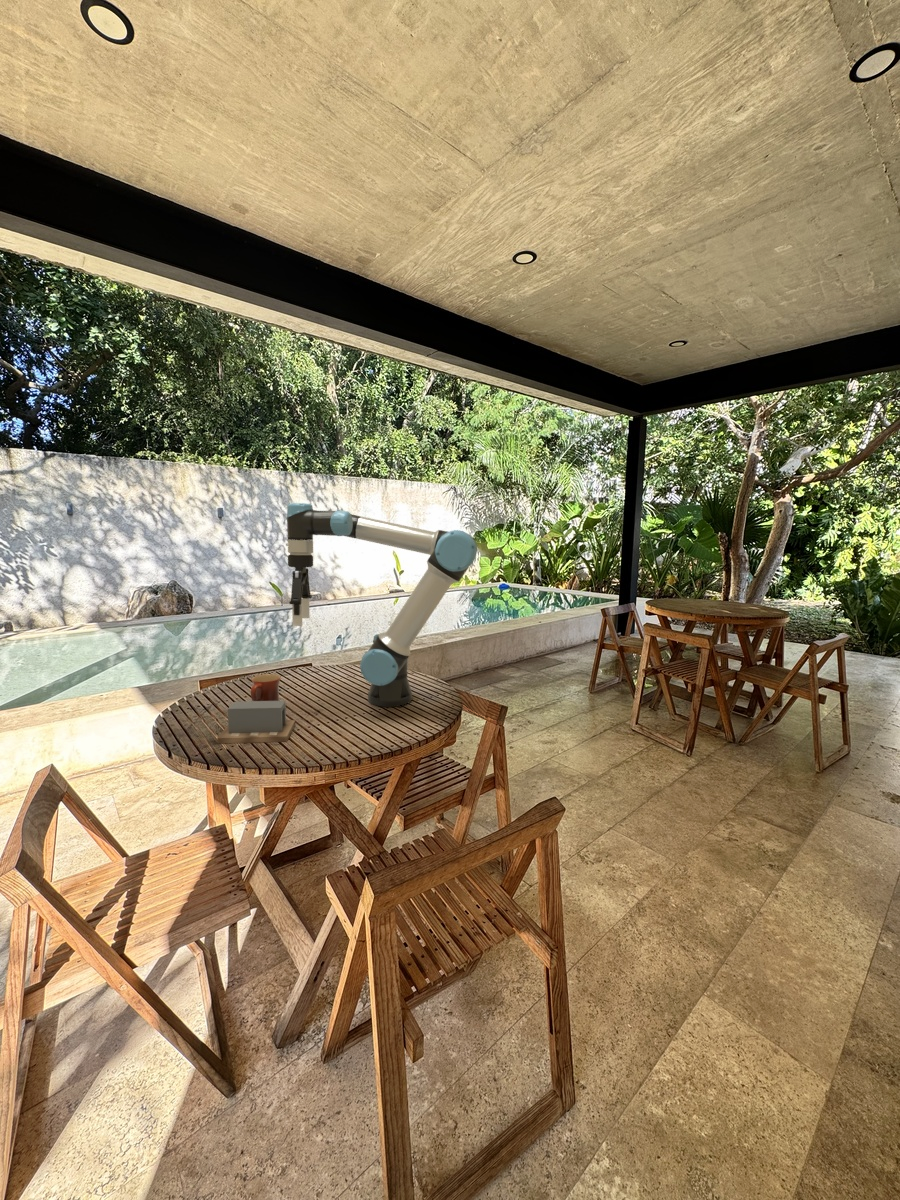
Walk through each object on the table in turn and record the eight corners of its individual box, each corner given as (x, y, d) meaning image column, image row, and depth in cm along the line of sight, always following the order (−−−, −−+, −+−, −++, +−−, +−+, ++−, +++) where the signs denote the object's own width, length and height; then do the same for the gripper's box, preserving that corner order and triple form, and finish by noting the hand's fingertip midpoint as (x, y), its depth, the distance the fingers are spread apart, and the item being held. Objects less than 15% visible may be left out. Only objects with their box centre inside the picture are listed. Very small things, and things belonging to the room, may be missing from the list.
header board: (295, 724, 145) (294, 707, 144) (286, 741, 133) (286, 722, 133) (231, 726, 143) (231, 708, 142) (217, 743, 131) (216, 723, 130)
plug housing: (286, 723, 142) (285, 700, 141) (281, 732, 136) (281, 707, 135) (235, 725, 140) (234, 701, 139) (228, 733, 134) (227, 708, 133)
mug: (262, 703, 163) (261, 673, 162) (286, 705, 161) (285, 675, 160) (240, 715, 151) (239, 683, 150) (265, 718, 150) (265, 685, 148)
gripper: (295, 552, 163) (296, 615, 166) (279, 555, 139) (280, 629, 141) (318, 552, 164) (319, 615, 167) (306, 555, 140) (307, 629, 142)
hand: (301, 621), depth 154 cm, fingers open, 13 cm apart
